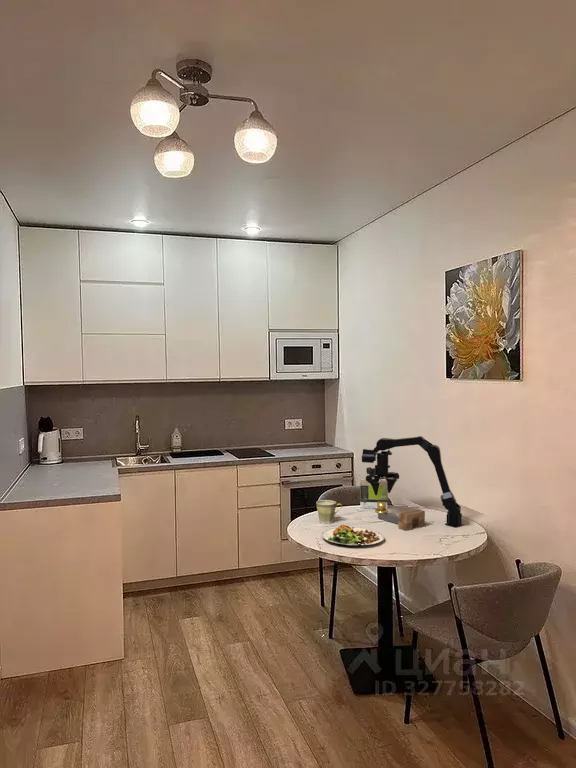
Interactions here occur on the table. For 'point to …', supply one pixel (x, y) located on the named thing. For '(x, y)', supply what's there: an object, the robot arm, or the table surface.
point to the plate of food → (352, 535)
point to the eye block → (411, 519)
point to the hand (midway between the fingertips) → (382, 494)
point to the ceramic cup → (326, 510)
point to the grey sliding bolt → (385, 513)
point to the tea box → (373, 494)
